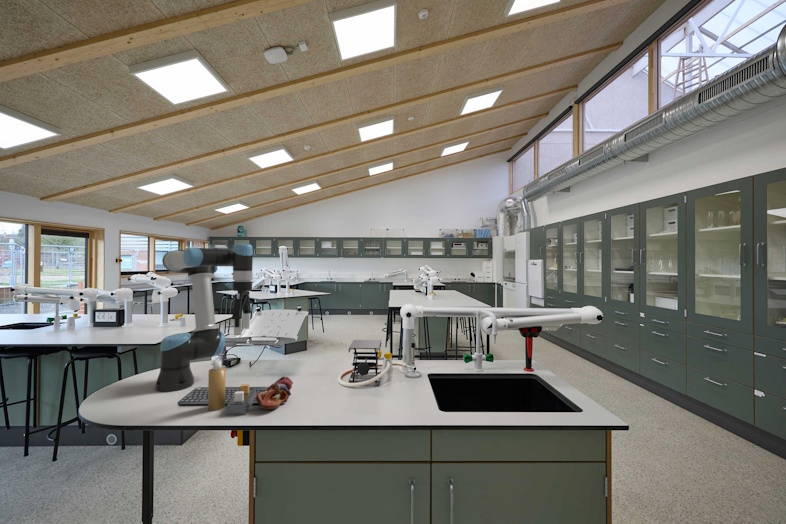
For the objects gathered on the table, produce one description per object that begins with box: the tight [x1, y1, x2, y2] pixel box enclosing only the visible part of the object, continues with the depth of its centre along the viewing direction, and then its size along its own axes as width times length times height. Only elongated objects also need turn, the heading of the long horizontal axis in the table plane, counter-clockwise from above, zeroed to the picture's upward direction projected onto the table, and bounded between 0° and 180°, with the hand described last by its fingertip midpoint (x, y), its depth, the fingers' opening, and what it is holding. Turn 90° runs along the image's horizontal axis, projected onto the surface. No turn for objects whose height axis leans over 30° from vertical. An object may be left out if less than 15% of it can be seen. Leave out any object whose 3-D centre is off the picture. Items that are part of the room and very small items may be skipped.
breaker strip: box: [225, 387, 257, 417], centre depth 143 cm, size 22×7×4 cm, turn 9°
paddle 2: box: [239, 383, 250, 394], centre depth 144 cm, size 2×3×3 cm, turn 99°
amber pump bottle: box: [207, 360, 226, 412], centre depth 138 cm, size 6×6×18 cm
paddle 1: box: [233, 390, 244, 402], centre depth 136 cm, size 2×3×3 cm, turn 99°
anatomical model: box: [255, 375, 294, 410], centre depth 142 cm, size 11×13×15 cm
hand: (241, 331), depth 145 cm, fingers open, 13 cm apart
